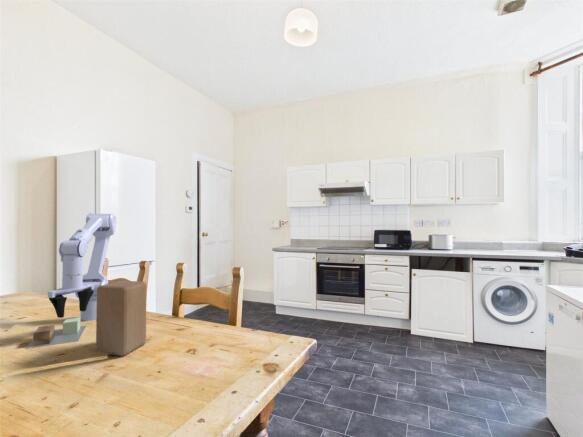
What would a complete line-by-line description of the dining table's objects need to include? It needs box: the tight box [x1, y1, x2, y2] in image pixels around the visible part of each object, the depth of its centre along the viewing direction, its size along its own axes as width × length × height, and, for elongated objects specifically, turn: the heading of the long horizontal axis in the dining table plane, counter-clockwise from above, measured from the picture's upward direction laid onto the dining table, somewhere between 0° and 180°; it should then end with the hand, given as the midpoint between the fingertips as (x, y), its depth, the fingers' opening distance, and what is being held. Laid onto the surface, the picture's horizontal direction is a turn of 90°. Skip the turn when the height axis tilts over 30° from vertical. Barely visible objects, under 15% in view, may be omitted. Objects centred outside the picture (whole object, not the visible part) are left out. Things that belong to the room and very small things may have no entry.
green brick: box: [62, 315, 81, 335], centre depth 103 cm, size 4×6×4 cm, turn 28°
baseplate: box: [24, 325, 87, 350], centre depth 98 cm, size 13×16×1 cm
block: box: [95, 280, 148, 357], centre depth 91 cm, size 10×10×20 cm
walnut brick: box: [32, 324, 56, 346], centre depth 94 cm, size 4×6×4 cm, turn 27°
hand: (72, 314), depth 103 cm, fingers open, 7 cm apart
